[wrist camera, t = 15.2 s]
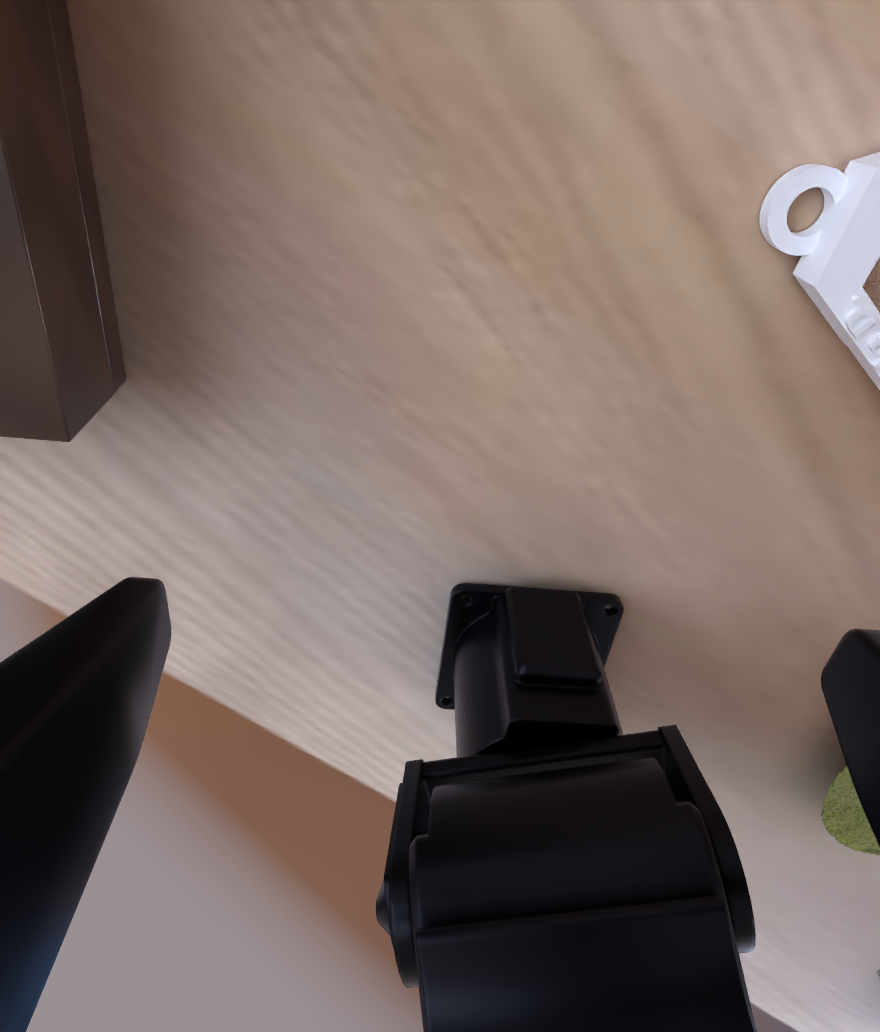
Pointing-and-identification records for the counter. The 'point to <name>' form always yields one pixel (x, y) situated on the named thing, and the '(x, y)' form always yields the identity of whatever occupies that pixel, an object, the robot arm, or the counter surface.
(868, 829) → the mat
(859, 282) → the stepped key frame
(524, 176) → the counter surface
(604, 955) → the robot arm
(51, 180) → the sign holder
